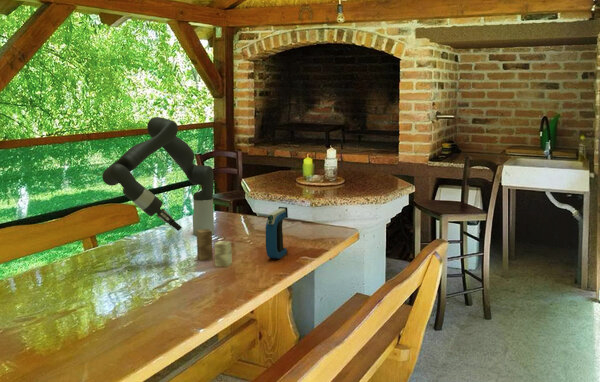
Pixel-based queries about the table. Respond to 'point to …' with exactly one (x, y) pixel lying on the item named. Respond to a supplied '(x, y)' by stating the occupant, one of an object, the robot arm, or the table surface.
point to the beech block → (223, 254)
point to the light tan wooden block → (204, 245)
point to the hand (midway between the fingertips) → (179, 228)
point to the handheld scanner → (275, 233)
